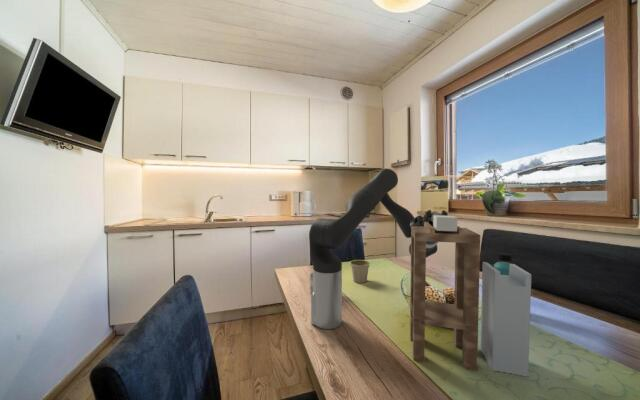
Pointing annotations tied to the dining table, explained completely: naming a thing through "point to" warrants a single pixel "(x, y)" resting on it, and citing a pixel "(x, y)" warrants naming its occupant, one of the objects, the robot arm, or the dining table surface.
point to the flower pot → (360, 270)
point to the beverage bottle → (503, 263)
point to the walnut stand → (465, 298)
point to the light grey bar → (443, 222)
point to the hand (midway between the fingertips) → (437, 213)
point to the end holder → (506, 319)
